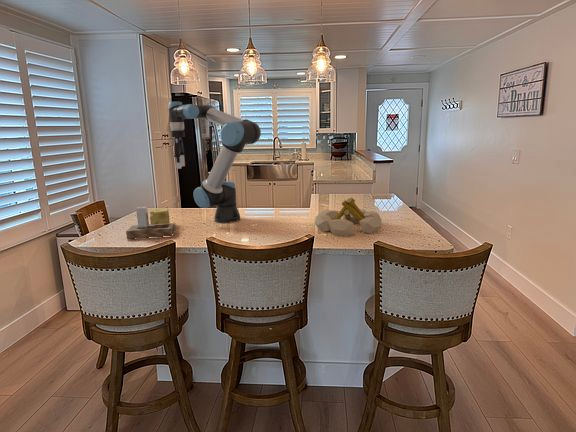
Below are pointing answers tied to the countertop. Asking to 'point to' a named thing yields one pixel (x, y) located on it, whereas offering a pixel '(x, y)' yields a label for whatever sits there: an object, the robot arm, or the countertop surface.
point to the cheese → (159, 216)
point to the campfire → (348, 220)
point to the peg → (142, 217)
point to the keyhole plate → (151, 231)
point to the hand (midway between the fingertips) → (180, 167)
